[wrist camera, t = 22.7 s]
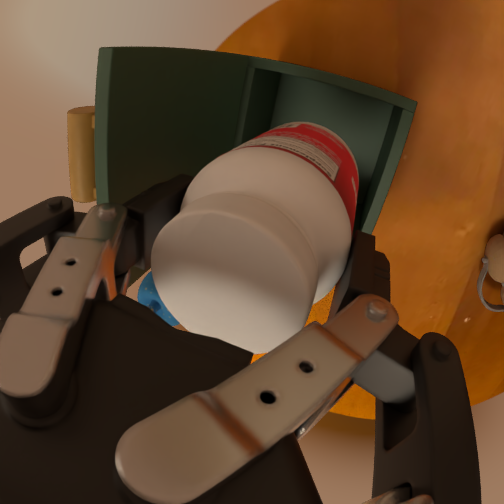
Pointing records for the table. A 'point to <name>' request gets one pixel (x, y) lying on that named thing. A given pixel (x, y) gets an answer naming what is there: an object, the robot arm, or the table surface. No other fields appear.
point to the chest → (331, 121)
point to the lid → (152, 121)
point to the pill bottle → (260, 237)
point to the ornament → (154, 300)
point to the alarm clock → (493, 268)
